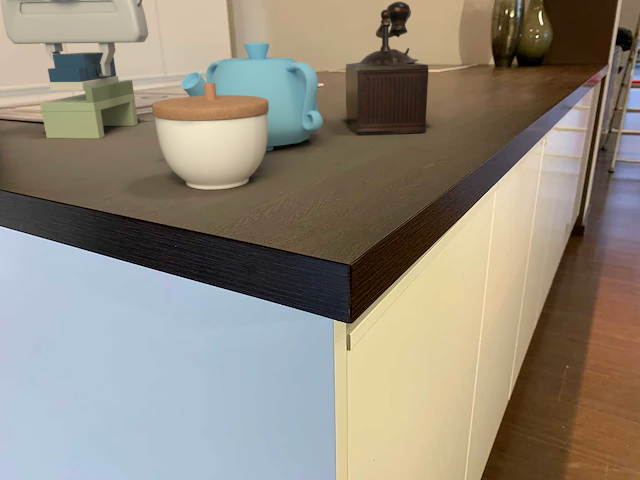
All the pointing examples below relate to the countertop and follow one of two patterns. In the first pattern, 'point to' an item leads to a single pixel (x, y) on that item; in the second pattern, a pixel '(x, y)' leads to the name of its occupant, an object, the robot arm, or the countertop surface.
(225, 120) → the white bowl with lid
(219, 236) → the countertop surface
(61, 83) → the blue block cream base
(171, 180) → the countertop surface
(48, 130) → the shoe shelf
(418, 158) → the countertop surface
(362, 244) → the countertop surface
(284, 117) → the teapot
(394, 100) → the manual coffee grinder
